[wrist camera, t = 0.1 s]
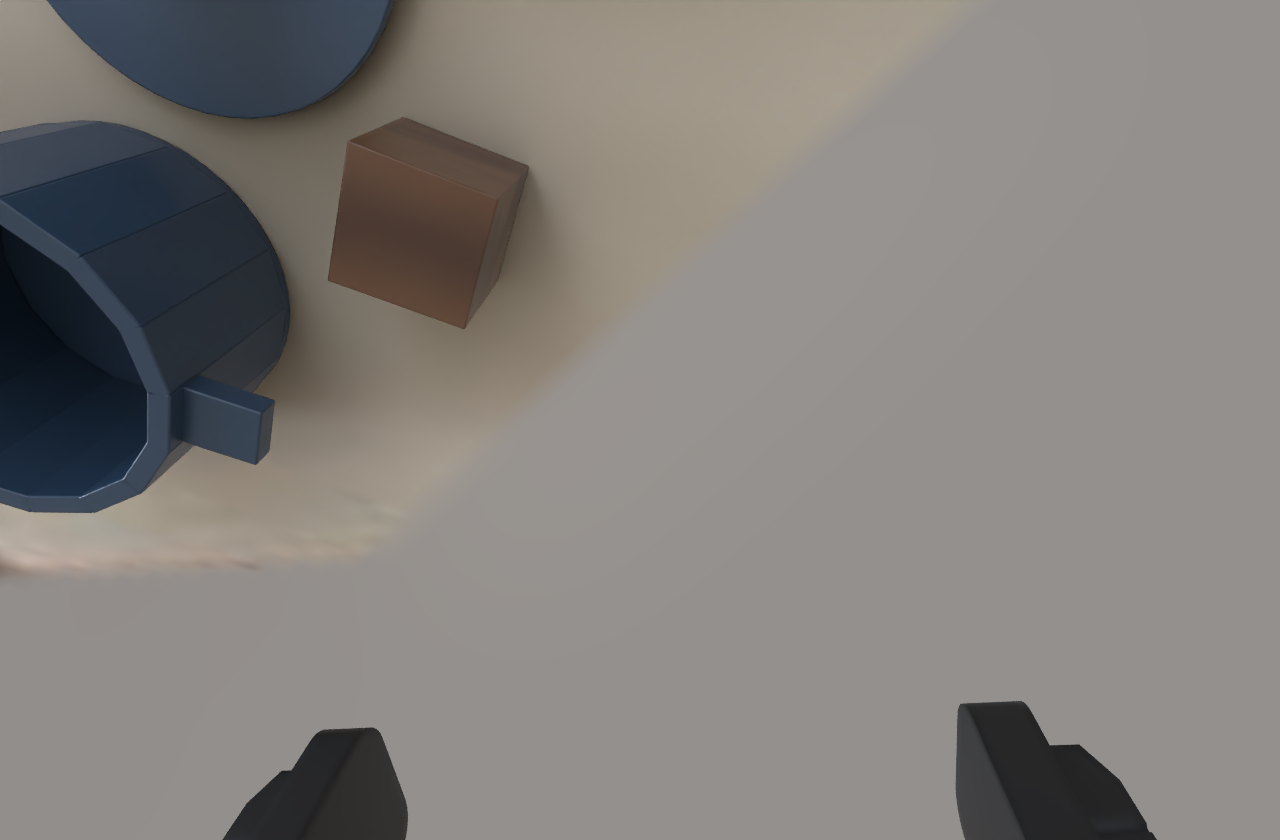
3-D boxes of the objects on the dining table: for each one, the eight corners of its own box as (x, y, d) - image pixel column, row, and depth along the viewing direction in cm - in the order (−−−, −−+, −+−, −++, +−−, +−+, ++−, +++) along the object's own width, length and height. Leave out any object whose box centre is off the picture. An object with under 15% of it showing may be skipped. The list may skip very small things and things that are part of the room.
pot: (-102, 40, 27) (-396, 59, 20) (371, 215, 29) (263, 291, 22) (-55, 328, 33) (-265, 423, 26) (331, 454, 36) (236, 575, 28)
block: (402, 116, 27) (347, 140, 23) (529, 165, 28) (498, 198, 23) (380, 238, 30) (327, 281, 25) (497, 281, 30) (464, 330, 26)
